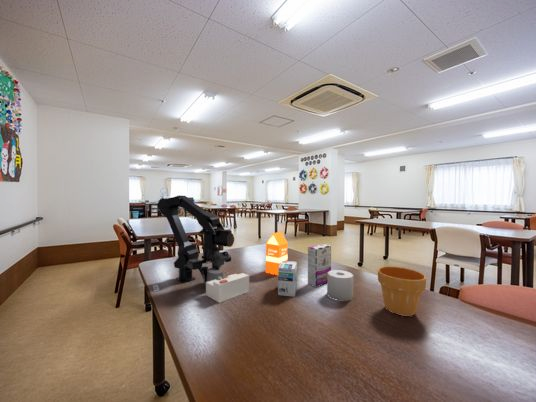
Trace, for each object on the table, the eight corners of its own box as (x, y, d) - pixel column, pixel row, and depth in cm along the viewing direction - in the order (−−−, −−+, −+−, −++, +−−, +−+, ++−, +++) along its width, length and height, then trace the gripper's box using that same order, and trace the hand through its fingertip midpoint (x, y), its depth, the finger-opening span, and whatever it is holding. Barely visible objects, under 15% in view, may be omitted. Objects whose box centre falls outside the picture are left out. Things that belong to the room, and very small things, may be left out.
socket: (205, 295, 90) (206, 276, 89) (235, 285, 100) (235, 268, 99) (219, 302, 83) (219, 283, 83) (249, 291, 93) (249, 274, 93)
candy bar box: (322, 278, 110) (322, 243, 109) (331, 281, 106) (331, 245, 106) (306, 284, 102) (307, 246, 102) (316, 287, 99) (316, 248, 98)
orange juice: (287, 270, 120) (288, 231, 119) (278, 275, 112) (279, 234, 112) (274, 268, 124) (274, 230, 123) (265, 272, 117) (265, 232, 116)
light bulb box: (294, 297, 89) (295, 269, 89) (277, 295, 90) (277, 267, 90) (297, 286, 99) (297, 261, 99) (281, 285, 101) (281, 260, 100)
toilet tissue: (343, 287, 99) (343, 267, 99) (356, 301, 86) (356, 278, 86) (322, 287, 99) (322, 267, 99) (332, 301, 86) (332, 278, 86)
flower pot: (418, 304, 84) (419, 268, 84) (431, 325, 71) (432, 282, 70) (374, 298, 89) (375, 264, 88) (379, 316, 75) (380, 276, 75)
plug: (204, 283, 100) (204, 269, 100) (212, 281, 103) (212, 267, 103) (216, 290, 93) (216, 275, 93) (224, 287, 96) (225, 273, 96)
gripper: (200, 251, 88) (199, 292, 88) (239, 244, 101) (238, 280, 102) (186, 246, 96) (185, 284, 96) (224, 240, 109) (223, 273, 109)
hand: (209, 280), depth 101 cm, fingers closed on plug, 4 cm apart
